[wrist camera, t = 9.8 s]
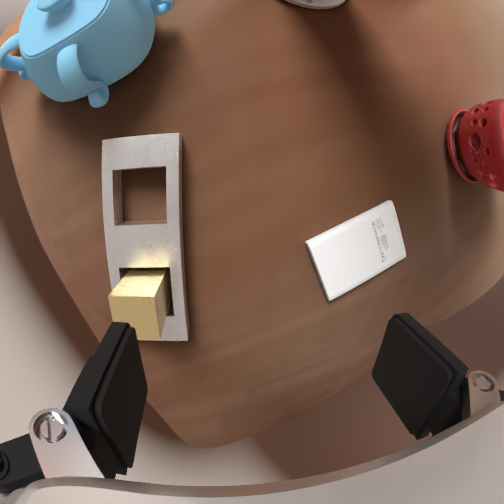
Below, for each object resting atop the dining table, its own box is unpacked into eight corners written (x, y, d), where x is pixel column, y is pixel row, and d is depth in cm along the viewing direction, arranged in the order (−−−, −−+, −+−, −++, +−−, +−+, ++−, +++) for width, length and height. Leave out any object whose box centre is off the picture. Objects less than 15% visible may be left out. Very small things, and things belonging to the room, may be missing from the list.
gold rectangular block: (134, 264, 30) (108, 296, 21) (169, 263, 30) (153, 296, 22) (138, 298, 31) (116, 337, 22) (172, 298, 31) (160, 339, 23)
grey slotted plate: (112, 142, 26) (102, 139, 23) (182, 137, 27) (179, 132, 24) (127, 326, 32) (121, 339, 29) (189, 327, 33) (187, 340, 30)
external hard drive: (303, 240, 32) (386, 199, 32) (325, 297, 35) (400, 254, 35) (307, 243, 31) (393, 200, 31) (330, 302, 33) (407, 257, 33)
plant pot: (469, 202, 34) (525, 215, 22) (428, 144, 31) (493, 142, 19) (491, 147, 32) (541, 150, 21) (454, 89, 29) (509, 79, 17)
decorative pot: (28, 81, 21) (-36, 57, 8) (102, -11, 19) (69, -64, 6) (105, 128, 25) (39, 104, 12) (192, 22, 23) (184, -51, 10)
